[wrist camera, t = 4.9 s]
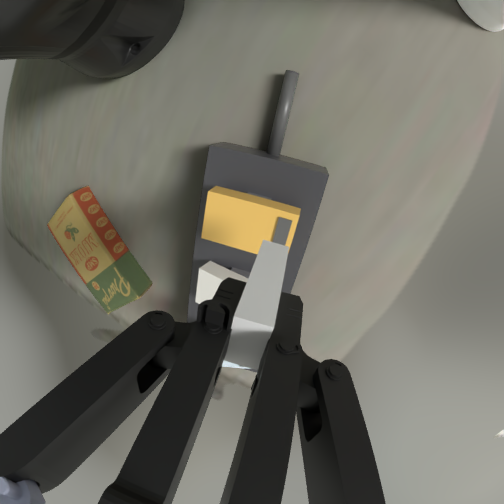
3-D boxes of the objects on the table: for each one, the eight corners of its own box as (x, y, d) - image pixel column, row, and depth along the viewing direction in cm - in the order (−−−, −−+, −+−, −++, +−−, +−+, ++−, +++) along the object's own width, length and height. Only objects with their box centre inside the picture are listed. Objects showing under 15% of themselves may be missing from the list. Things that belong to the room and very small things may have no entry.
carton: (90, 183, 30) (68, 193, 27) (155, 282, 35) (140, 300, 31) (64, 214, 34) (44, 225, 30) (122, 300, 38) (107, 317, 34)
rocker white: (205, 293, 28) (194, 302, 26) (210, 260, 26) (198, 268, 24) (266, 324, 26) (257, 336, 24) (276, 291, 24) (268, 303, 22)
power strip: (195, 329, 37) (182, 353, 33) (240, 65, 21) (225, 53, 17) (264, 351, 36) (258, 377, 32) (346, 88, 20) (354, 80, 16)
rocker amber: (208, 229, 24) (200, 238, 22) (216, 185, 22) (207, 191, 20) (287, 252, 23) (285, 263, 21) (300, 208, 21) (299, 216, 19)
